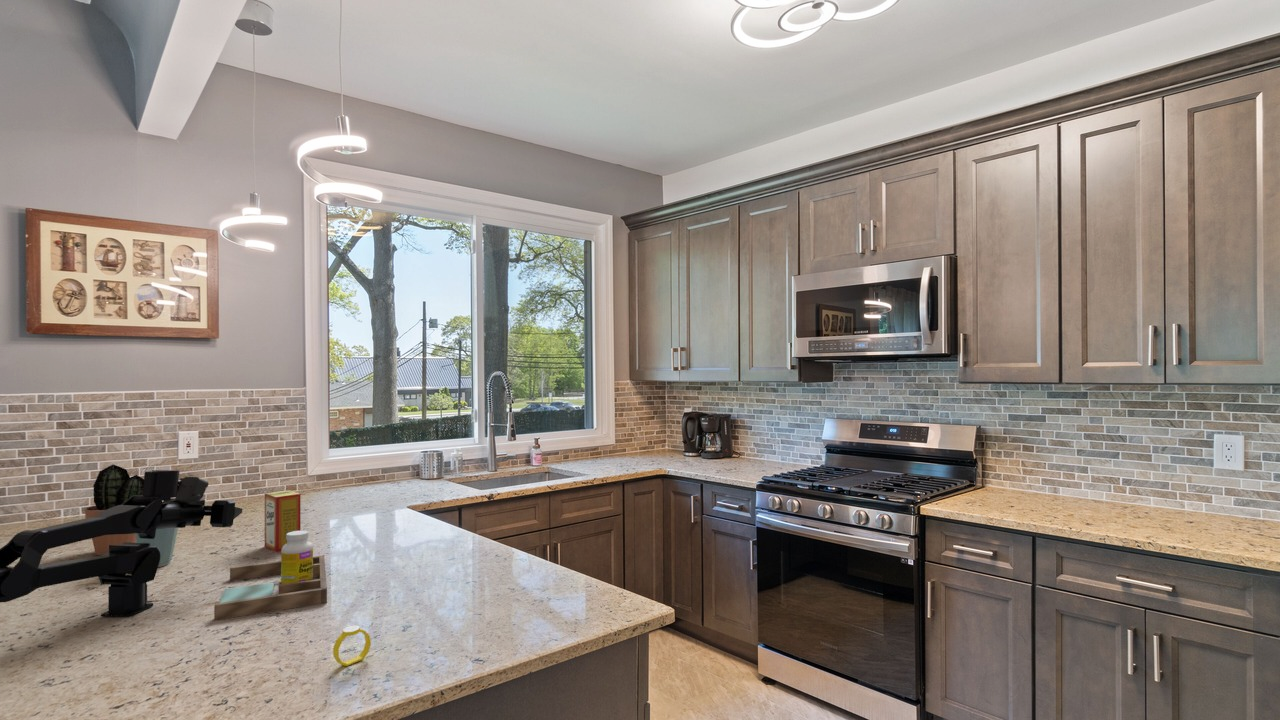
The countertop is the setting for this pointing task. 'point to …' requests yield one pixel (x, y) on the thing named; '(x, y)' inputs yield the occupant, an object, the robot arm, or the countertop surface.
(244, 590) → the wooden compartment box
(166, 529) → the disposable coffee cup
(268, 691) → the countertop surface
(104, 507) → the potted plant
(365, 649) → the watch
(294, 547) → the supplement bottle
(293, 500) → the baking soda box
